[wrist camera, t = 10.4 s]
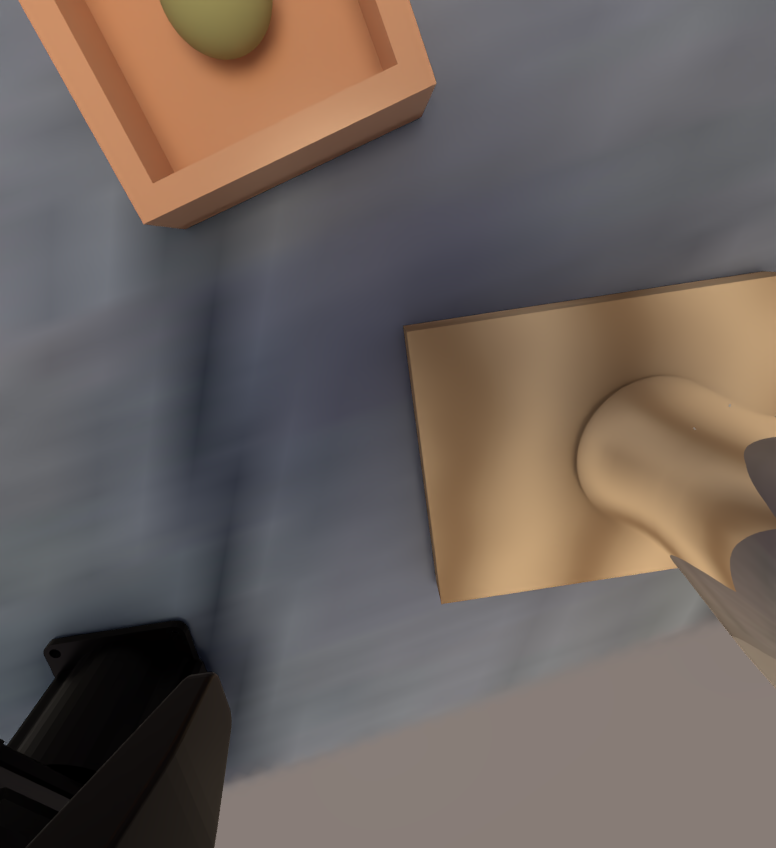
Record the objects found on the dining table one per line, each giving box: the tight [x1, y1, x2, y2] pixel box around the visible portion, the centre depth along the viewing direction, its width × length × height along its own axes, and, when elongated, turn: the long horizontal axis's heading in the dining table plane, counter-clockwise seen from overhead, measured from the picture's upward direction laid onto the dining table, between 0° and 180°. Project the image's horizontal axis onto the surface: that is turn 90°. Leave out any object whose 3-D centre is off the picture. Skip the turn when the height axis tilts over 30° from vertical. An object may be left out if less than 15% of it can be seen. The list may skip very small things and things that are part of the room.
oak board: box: [403, 271, 776, 604], centre depth 20 cm, size 14×12×2 cm
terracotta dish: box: [19, 0, 436, 229], centre depth 14 cm, size 9×9×4 cm
